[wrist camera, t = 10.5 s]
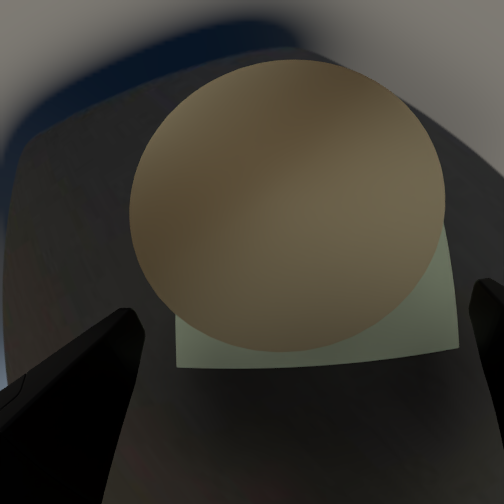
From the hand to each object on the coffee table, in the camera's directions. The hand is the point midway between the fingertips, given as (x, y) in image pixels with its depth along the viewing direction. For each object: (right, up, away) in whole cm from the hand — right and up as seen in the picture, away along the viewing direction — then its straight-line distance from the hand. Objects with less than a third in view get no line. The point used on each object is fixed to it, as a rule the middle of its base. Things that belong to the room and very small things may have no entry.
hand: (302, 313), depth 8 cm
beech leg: (+3, -1, +12) cm, 12 cm away
